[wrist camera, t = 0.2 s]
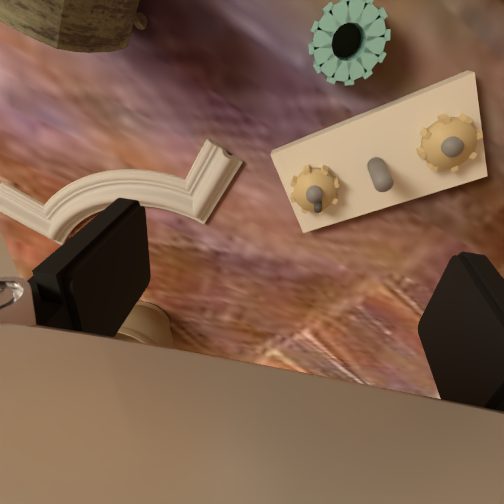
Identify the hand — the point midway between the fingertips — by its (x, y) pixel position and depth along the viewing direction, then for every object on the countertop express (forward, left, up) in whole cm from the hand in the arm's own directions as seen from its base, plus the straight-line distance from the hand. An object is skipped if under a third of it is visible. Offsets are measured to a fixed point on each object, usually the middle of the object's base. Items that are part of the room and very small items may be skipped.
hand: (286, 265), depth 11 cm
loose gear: (-3, +5, -36) cm, 37 cm away
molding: (+1, -32, -37) cm, 49 cm away
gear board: (+11, +5, -36) cm, 38 cm away
